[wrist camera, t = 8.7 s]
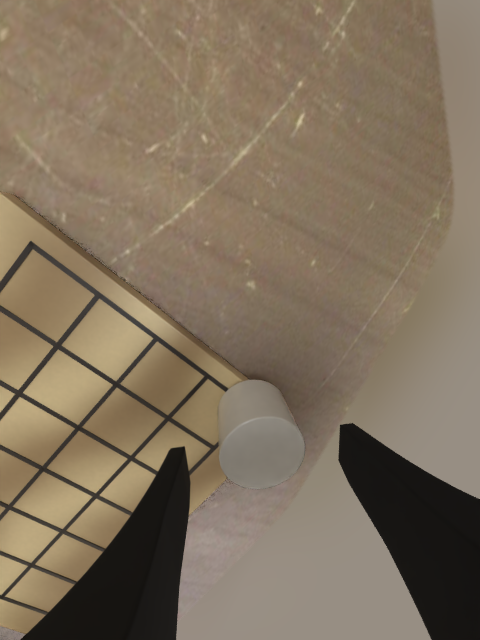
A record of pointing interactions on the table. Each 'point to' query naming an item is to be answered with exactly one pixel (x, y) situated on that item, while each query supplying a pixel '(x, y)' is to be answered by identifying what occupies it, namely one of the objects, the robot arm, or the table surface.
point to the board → (86, 410)
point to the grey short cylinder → (258, 436)
